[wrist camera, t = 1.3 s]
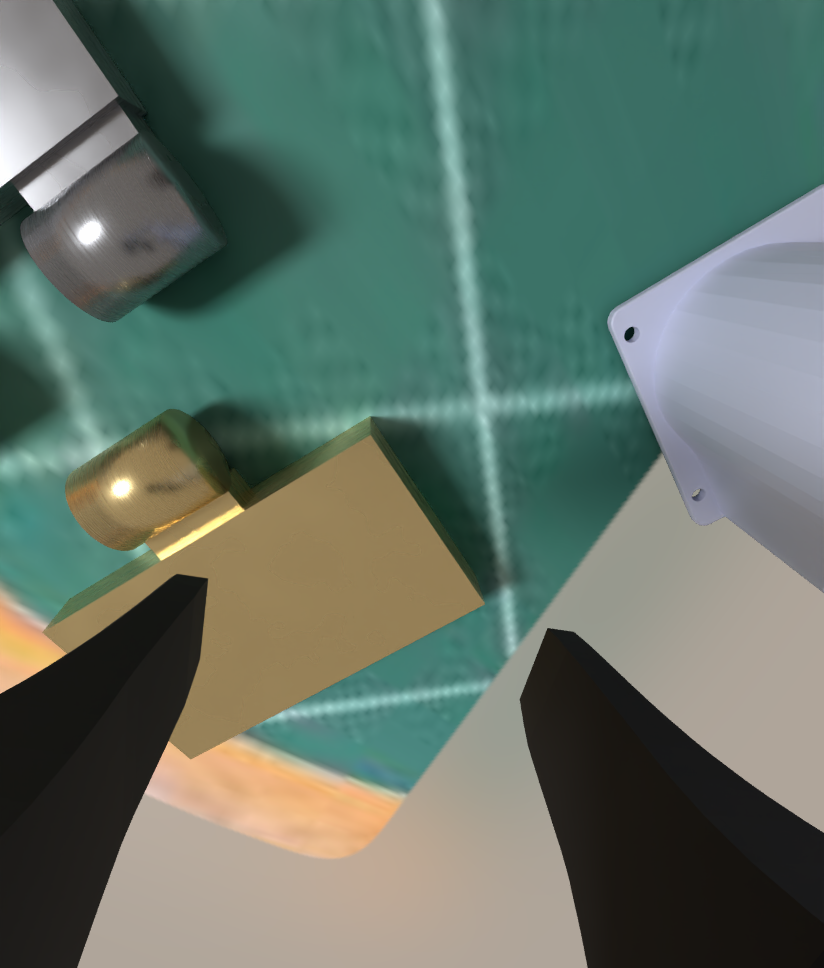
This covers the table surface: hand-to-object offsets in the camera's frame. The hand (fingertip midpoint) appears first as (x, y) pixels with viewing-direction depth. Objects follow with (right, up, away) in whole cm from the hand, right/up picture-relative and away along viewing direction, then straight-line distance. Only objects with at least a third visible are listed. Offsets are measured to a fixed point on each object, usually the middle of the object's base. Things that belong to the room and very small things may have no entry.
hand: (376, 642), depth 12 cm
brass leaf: (-6, +1, +10) cm, 11 cm away
